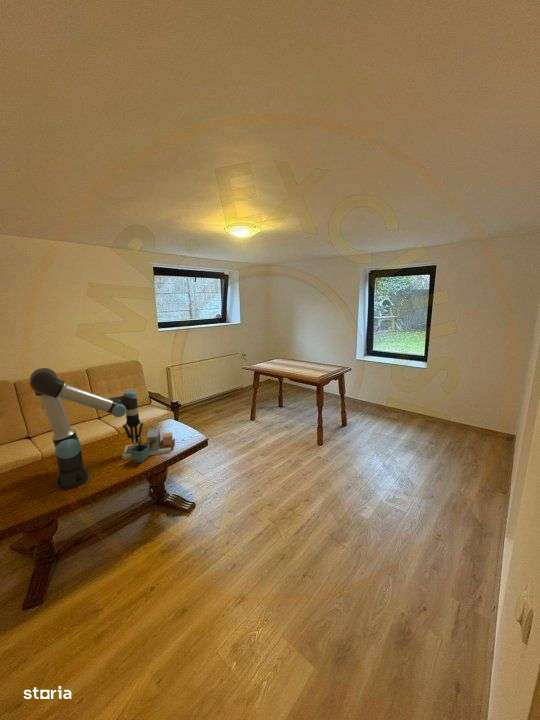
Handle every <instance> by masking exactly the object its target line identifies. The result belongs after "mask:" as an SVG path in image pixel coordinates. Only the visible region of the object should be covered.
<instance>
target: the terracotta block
mask: <svg viewBox="0 0 540 720" xmlns="http://www.w3.org/2000/svg"><path fill="white" fill-rule="evenodd" d="M173 439H174V438H173V432H166V433H163V434H162V440H163V445H171V444H172V443H173Z"/></svg>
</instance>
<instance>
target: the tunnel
mask: <svg viewBox="0 0 540 720" xmlns="http://www.w3.org/2000/svg"><path fill="white" fill-rule="evenodd" d="M160 432H161V430H160V428H154V429H153V428H152V429H148V431H147V435H146V443H147V445H149V443H151V442H156V444H157V447H155V448H150V446H149V451H157V450H159V443H158V442H159V441H161V433H160Z"/></svg>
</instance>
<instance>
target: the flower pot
mask: <svg viewBox="0 0 540 720" xmlns="http://www.w3.org/2000/svg"><path fill="white" fill-rule="evenodd" d="M137 444H138V443H137ZM130 455H131V458H130V459H132V461H133V462H135V463H139V464H142V463H144V462H145V461H146V460H147V459H148V457H149V456H150V455H149V445H140V444H138V445H136V446H135V447H134V448H132V449H131V450H130ZM148 455H149V456H148Z"/></svg>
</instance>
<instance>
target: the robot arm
mask: <svg viewBox="0 0 540 720" xmlns="http://www.w3.org/2000/svg"><path fill="white" fill-rule="evenodd" d="M29 378H30V380H29V386H30V388H31V389H32V391H34V395H35V396H36V397H38V398H40V401H41V402H42V406H43V409H44V410H45V411H44V412H45V414H46V416H47V419H48V422H49V425H50V427H51V430H52V433H53V436H52V437H51V439H52V441H53V445H54V448H55V451H54V452H55V456H56V461H57V467H58V468H57V469H58V475H57V478H56V487H57V489H60V490H71V489H73V488H78V487H79V486H81V485H83V484H85V483H86V482H87V481H88V480H89V477H90V476H89V472H88V470H87V469H86V467H85V465H84V460H83V452H82V443H81V442H80V438H79V437H78V434H77V432H76V429H74V428H72V427H71V424H70V422H69V418H68V416H67V412H66V409H65V407H64V404H63V401H62V399H64V400H67V401H70V402H73V403H76V404H79V405H82V406H86V407H89V408H92V409H96V410H98V411H101V412H104V413H108V414H110V415H112V416H114V417H115V418H121V417H123V416H125V418H126V422H125V423H124V424H123V425H122V428H123V429H124V430H125V434H126V436H127V438H128V439H131V443H132V444H133V445H134V447H135V446H136V445H137V444H138V440H139V437H141V436H142V429H143V426H144V422H143V421H141V420H140V417H139V416H140V415H139V406H138V397H137V392H136V391H135V390H127V391H125V392H123V395H121V396H115V397H108V398H107V397H105V396H102V395H98V394H96V393H93V392H90V391H87V390H84V389H82V388H79V387H76V386H72V385H70V384H67V382H66V381H64V380H61V379H59V378H58V375H57V373H56V371H54V370H53V369H51V368H48V367H41V368H38V369H35V370H34V371H33V372H32V373H31V375H30V377H29ZM138 426H139V431H138ZM128 427H129V428H128Z"/></svg>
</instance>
